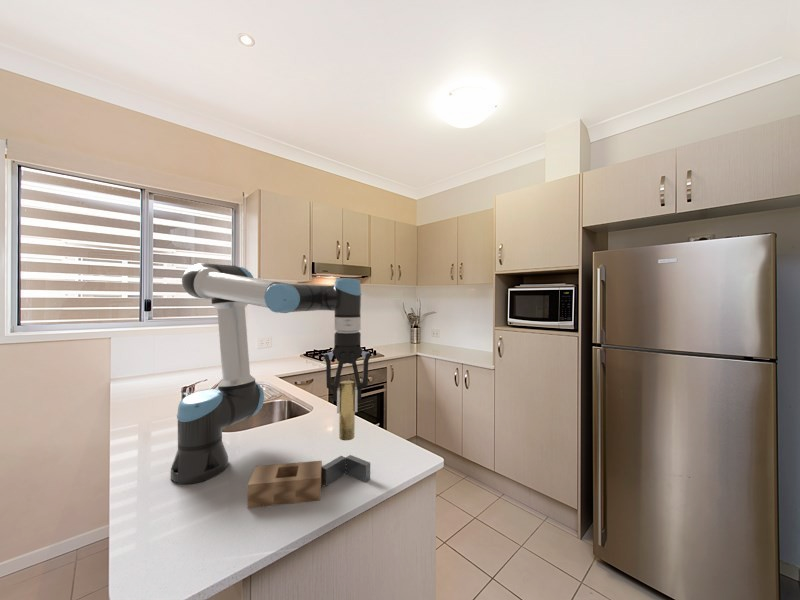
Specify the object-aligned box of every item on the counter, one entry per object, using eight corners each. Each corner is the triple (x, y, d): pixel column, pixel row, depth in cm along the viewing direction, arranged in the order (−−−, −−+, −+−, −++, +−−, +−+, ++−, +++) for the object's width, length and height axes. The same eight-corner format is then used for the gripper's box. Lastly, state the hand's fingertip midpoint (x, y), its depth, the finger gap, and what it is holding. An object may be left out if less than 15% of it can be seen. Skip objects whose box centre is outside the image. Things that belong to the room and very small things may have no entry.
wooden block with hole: (247, 508, 82) (247, 484, 82) (256, 487, 91) (256, 466, 91) (320, 500, 85) (320, 477, 85) (321, 480, 94) (321, 460, 94)
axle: (339, 441, 91) (339, 385, 91) (339, 434, 96) (339, 381, 95) (354, 439, 92) (355, 384, 92) (354, 433, 97) (354, 380, 96)
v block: (320, 487, 91) (321, 469, 91) (321, 473, 98) (322, 457, 98) (370, 482, 94) (370, 465, 94) (368, 469, 101) (368, 453, 101)
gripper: (316, 333, 88) (315, 417, 89) (378, 332, 92) (378, 413, 92) (317, 330, 96) (317, 408, 96) (375, 329, 99) (375, 405, 99)
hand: (347, 410), depth 94 cm, fingers closed on axle, 4 cm apart
